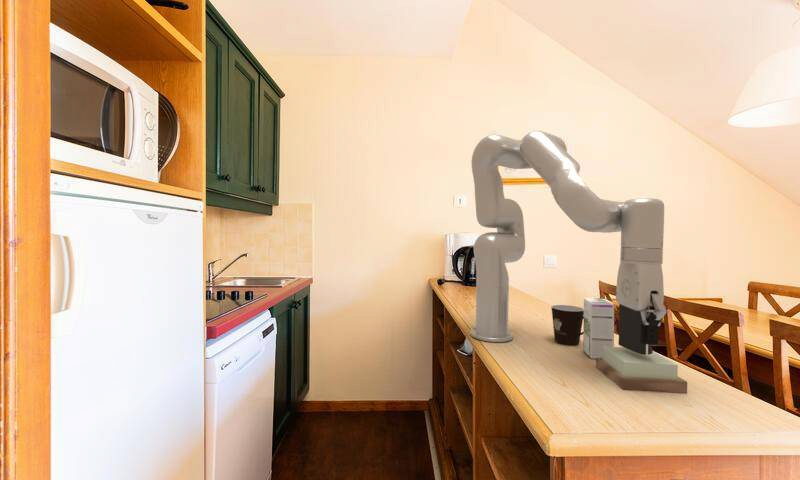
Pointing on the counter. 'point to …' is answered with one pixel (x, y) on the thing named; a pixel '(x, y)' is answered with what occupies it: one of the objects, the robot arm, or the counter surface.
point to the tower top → (639, 363)
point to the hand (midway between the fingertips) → (638, 337)
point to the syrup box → (598, 326)
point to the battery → (632, 330)
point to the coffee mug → (567, 324)
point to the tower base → (642, 381)
